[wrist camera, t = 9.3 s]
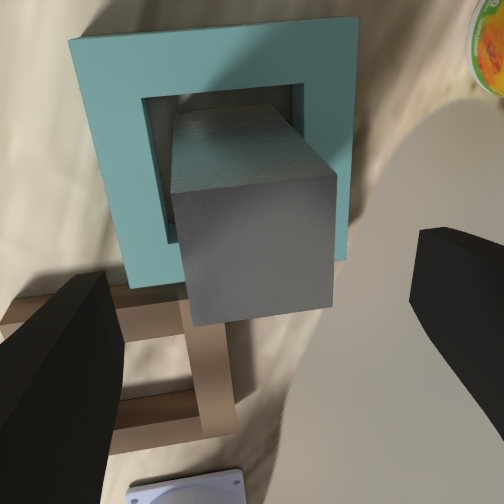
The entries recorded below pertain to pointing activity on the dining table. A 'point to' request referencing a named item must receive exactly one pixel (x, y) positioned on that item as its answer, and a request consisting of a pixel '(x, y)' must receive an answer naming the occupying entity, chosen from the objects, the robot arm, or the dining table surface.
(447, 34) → the dining table surface
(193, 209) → the peg
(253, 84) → the teal square frame
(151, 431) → the socket block
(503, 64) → the supplement bottle
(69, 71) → the dining table surface
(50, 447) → the robot arm
